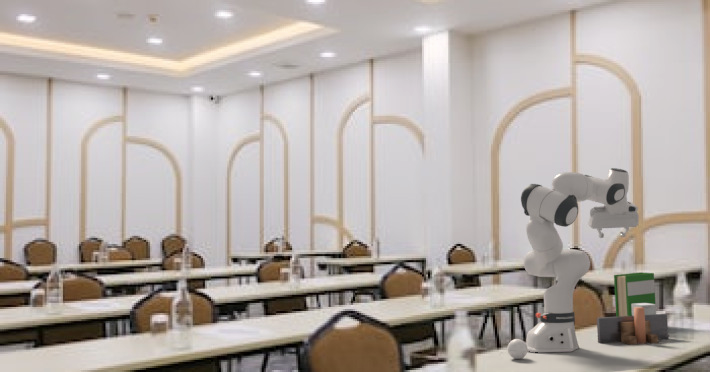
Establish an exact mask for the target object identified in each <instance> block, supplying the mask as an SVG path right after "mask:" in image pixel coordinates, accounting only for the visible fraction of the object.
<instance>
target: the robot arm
mask: <svg viewBox="0 0 710 372" xmlns="http://www.w3.org/2000/svg"><path fill="white" fill-rule="evenodd" d="M629 179H630V177H629V172H628V171H627V170H625V169H621V168H616V167H615V168H614V167H612V168H609V170H608V173H607V176H606V178H605V179H603V178H598V177H595V176H592V175H588V174H583V173H579V172H574V171H570V172H569V171H568V172H567V171H566V172H562V173H559V174H556V176H554V178H553V179H552V181H551V188H548V187H546V186H543V185H542V184H538V183H530V184H528V185H527V186H526V187H525V188H524V189H523V190H522V192H521V195H520V202H521V206H522V208H523V213H524V214H525V216H529V217H530V219H529V221H528V222H527V224H526V230H525V231H526V235H527V240H528V241H529V244H530V246H531V248H532V250H530V251H528V252H527V253H526V254H525V256H524V259H523V267H524V269H525V271H526V273H527V274H528V275H530V276H534V277H540V278H557V283H555V284H554V285H551V286H550V287H548V288H547V289H545V290H544V293H543V308H544V311H543V312H542V313H541V312H536V313H535V317H536V318H538V319H540V321H539V322H538V323H537V324H536V325H535V326H534V327H532V328H531V329H530V330H528V332H527V334H526V339H525V343H526V345H527V348H528V351H527V352H529V351H530V352H531V353H535V352H538V353H561V352H562V353H563V352H565V353H566V352H574V351H575V350H578V349H579V348H580V345H579V343H578V342H579V341H578V339H577V335H576V327H575V325H576V316H575V312H574V292H575V288H576V285H577V283H578V282H579V281H580V280H581V278H583V277H584V276H585V275H587V273H588V272H589V269H590V267H591V261H590V257H589V255H588V254H587V253H586V252H585V251H584V250H580V249H579V250H578V249H573V248H564V244H563V241H562V239H561V236H560V234H559V232H558V230H557V229H556V227H555V225H556V226H559V227H565V228H566V227H569V226H571V225H572V224H573V223H574V222H575V220H576V219H577V217H578V214H579V204H578V203H580V202H585V201H591V202H595V203H599V204H603V206H594V207H592V208H590V211H589V219H588V225H589V227H590V228H591V229H595V230H596V231H597V233H598V238H600V239H603V238H605V237H604V236H605V234H604V233H603V232H602V230H603V229H617V228H619V229H620V228H623V230H622V231H620V237H621V238H625V237H626V236H627V235H626V234H627V233H628V231H629V230H630V228H637V226H638V225H639V218H640V217H639V212H638V211H639V207H638V206H637V205H636V204H634V203H633V202H631V201H629V200H628V198H627V194H628V192H629V185H630V184H629V183H630V182H629Z"/></svg>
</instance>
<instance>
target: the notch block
mask: <svg viewBox="0 0 710 372" xmlns="http://www.w3.org/2000/svg"><path fill="white" fill-rule="evenodd" d="M620 325H621V342H620V343H623V344H627V345H630V346H631V345H633V346H634V345H637V344H638V343H637V338H636V336H635V323H634V321H631V322H620ZM645 330H646V343H650V344H659V339H658V335H655V334H651V326H650V321H648V320H647V321H645Z"/></svg>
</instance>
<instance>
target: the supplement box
mask: <svg viewBox="0 0 710 372" xmlns="http://www.w3.org/2000/svg"><path fill="white" fill-rule="evenodd" d="M631 307H632V316H634V307H644V312H645V315H650V314H657V304H650V303H636V304H631Z"/></svg>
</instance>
